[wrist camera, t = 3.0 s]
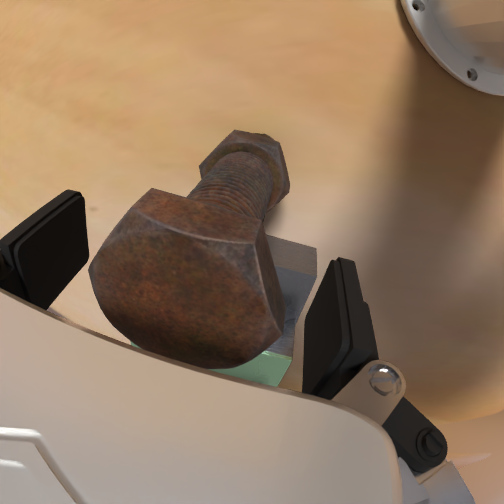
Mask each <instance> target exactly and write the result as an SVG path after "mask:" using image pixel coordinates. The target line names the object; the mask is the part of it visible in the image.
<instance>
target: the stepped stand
mask: <svg viewBox="0 0 504 504" xmlns="http://www.w3.org/2000/svg"><path fill="white" fill-rule="evenodd" d="M266 237H267V241H268V244H269V248H270V251H271V255H272V258H273V262H274V266H275V269H276V273H277V276H278V280H279V283H280V287H281V291H282V294H283V298H284V302H285V305H286V313H285V321H284V329H283V335H282V336H281V337H280V338H279V339H278V340H277V341H276V342H274V343H273V344H272V345H271V346H270V347H269V348H268V349H267V350H265V351H264V352H263V353H261V354H260V355H258V356H257V357H255V358H254V359H253V360H251V361H249V362H247V363H245V364H243V365H240V366H238V367H235V368H230V369H207V370H211V371H215V372H218V373H222V374H226V375H230V376H234V377H238V378H242V379H246V380H250V381H254V382H258V383H262V384H266V385H271V386H275V387H277V386H278V385H279V383H280V381H281V380H282V378H283V376H284V374H285V372H286V371H287V369H288V367H289V365H290V364H291V362H292V356H293V345H294V334H295V324H296V322H297V320H298V318H299V316H300V314H301V311H302V309H303V307H304V305H305V303H306V300H307V298H308V296H309V294H310V291H311V289H312V287H313V285H314V282H315V280H316V278H317V252H316V248H313V247H309V246H306V245H302V244H298V243H295V242H291V241H287V240H284V239H280V238H276V237H273V236H269V235H266ZM131 345H132V346H135V347H137V348H140V347H138V346H137V345H135V344H134V343H132V342H131ZM140 349H141V348H140Z"/></svg>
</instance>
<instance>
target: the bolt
mask: <svg viewBox="0 0 504 504" xmlns="http://www.w3.org/2000/svg"><path fill="white" fill-rule="evenodd" d="M199 169H200V174H201V179H202V180H201V181H200V182H199V183H198V185H197V186H196V187H195V188H194V189H193V190H192V191H191V192H190V194H189V195H188V196H187V197H182V196H179V195H175V194H172V193H168V192H165V191H161V190H157V189H154V188H151V189H150V190H149V191H148V192H147V193H146V194H145V195H144V196H142V197H141V198H140V199H139V200H138V201H137V202H136V203H135V204H134V205H133V206H132V207H131V208H130V209H129V210H128V212H127V213H126V214H125V215H124V217H123V218H122V219H121V220H120V221H119V223H118V224H117V225H116V226H115V228H114V229H113V230H112V232H111V233H110V235H109V236H108V237H107V239H106V240H105V241H104V243H103V245H102V246H101V248H100V249H99V251H98V252H97V254H96V256H95V257H94V259H93V260H92V262H91V264H90V266H89V269H88V272H89V276H90V280H91V283H92V287H93V291H94V294H95V296H96V299H97V301H98V303H99V306H100V308H101V310H102V311H103V313H104V315H105V316H106V318H107V319H108V320H109V322H110V323H111V324H112V325H113V326H114V327H115V328H116V329H117V330H118V331H119V332H121V333H122V334H123V335H124V336H125V337H126V338H128V339H129V340H130V341H131V342H132V343H134V344H135V345H137V346H138V347H140V348H141V349H143V350H146V351H149V352H152V353H155V354H158V355H161V356H164V357H167V358H170V359H174V360H177V361H180V362H183V363H187V364H190V365H193V366H197V367H200V368H204V369H230V368H235V367H238V366H240V365H243V364H245V363H247V362H249V361H251V360H253V359H254V358H255V357H257V356H258V355H260V354H261V353H263V352H264V351H265V350H267V349H268V348H269V347H270V346H271V345H272V344H273V343H274V342H276V341H277V340H278V339H279V338H280V337H281V336H282V335H283V329H284V321H285V313H286V305H285V302H284V298H283V294H282V291H281V287H280V283H279V280H278V276H277V273H276V269H275V266H274V262H273V258H272V255H271V251H270V248H269V244H268V241H267V237H266V234H265V230H264V227H263V220H264V217H265V214H266V213H267V212H268V211H269V210H271V209H272V208H273V207H274V206H275V205H276V204H277V203H279V202H280V201H281V200H282V199H283V198H284V197H285V196H286V195H287V194H288V193H289V189H290V181H289V176H288V171H287V167H286V163H285V159H284V155H283V152H282V149H281V146H280V143H279V142H277V141H275V140H273V139H272V138H271V137H270V136H268V135H266V134H258V133H249V132H244V131H239V130H234V131H233V132H232V133H230V134H229V135H228V136H227V137H226V138H225V139H224V140H223V141H222V142H221V143H220V144H219V145H218V146H217V147H216V148H215V149H214V150H213V151H212V152H211V154H210V155H209V156H208V157H207V158H206V159H205V160H204V161H203V162H202V163H201V164H200V165H199Z"/></svg>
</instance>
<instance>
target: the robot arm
mask: <svg viewBox="0 0 504 504" xmlns="http://www.w3.org/2000/svg"><path fill="white" fill-rule="evenodd" d="M401 4H402V7H403V9H404V12H405V14H406V17H407V20H408V22H409V23H410V25H411V27H412V29H413V31H414V33H415V34H416V36H417V38H418V39H419V40H420V42H421V43H422V45H423V46H424V47H425V49H426V50H427V52H428V53H429V54H430V55H431V56H432V57H433V58H434V59H435V60H436V62H437V63H438V64H439V65H440V66H441V67H442V68H444V69H445V70H446V71H447V72H448V73H449V74H451V75H452V76H453V77H454V78H456V79H457V80H459V81H461V82H462V83H464V84H465V85H467V86H469V87H471V88H474V89H476V90H478V91H480V92H485V93H488V94H492V95H500V96H504V0H401ZM412 5H415V6H416V7H417V11H416V10H415V9H414V8H413V7H412ZM467 71H468V73H469V76H467ZM88 259H89V248H88V238H87V227H86V214H85V200H84V197H82V194H81V193H80V192H77V191H73V190H66V191H64V192H63V193H61V194H60V195H58V196H57V197H55V198H54V199H53V200H51V201H50V202H48V203H47V204H46V205H44V206H43V207H41V208H40V209H39V210H37V211H36V212H35V213H33V214H32V215H31V216H29V217H28V218H27V219H25V220H24V221H23V222H22V223H20V224H19V225H18V226H17V227H15V228H14V229H13V230H12V231H10V232H9V233H8V234H7V235H5V236H4V237H3V238H2V239H1V240H0V504H475V501H474V498H473V496H472V495H471V493H470V491H469V490H468V488H467V486H466V484H465V483H464V481H463V479H462V477H461V476H460V474H459V472H458V470H457V469H456V467H455V465H454V464H453V462H452V460H451V461H449V462H447V460H446V455H447V442H446V439H445V437H444V435H443V434H442V433H441V432H440V431H439V430H438V429H437V428H436V427H435V426H434V425H433V424H432V423H431V422H430V421H429V420H428V419H427V418H426V417H425V416H424V415H422V414H421V413H420V412H419V411H418V410H417V409H416V408H415V407H414V406H413V405H412V404H411V403H410V402H409V401H408V400H407V399H406V398H404V397H403V395H404V393H405V391H406V382H405V378H404V376H403V374H402V373H401V371H400V370H399V369H398V368H397V367H396V366H394V365H393V364H391V363H390V362H387V361H384V360H379V358H378V352H377V346H376V341H375V336H374V330H373V325H372V320H371V316H370V311H369V306H368V304H367V303H366V302H363V297H362V293H361V288H360V283H359V279H358V275H357V270H356V266H355V262H354V261H351V260H348V259H344V258H340V257H338V258H337V260H336V261H335V260H331V262H330V264H329V266H328V268H327V271H326V273H325V275H324V277H323V280H322V282H321V284H320V286H319V289H318V291H317V293H316V295H315V298H314V300H313V302H312V304H311V306H310V308H309V311H308V313H307V315H306V318H305V324H304V361H303V385H302V393H301V392H297V391H293V390H289V389H284V388H280V387H275V386H271V385H266V384H262V383H258V382H254V381H250V380H246V379H242V378H238V377H234V376H230V375H226V374H222V373H218V372H215V371H211V370H207V369H204V368H200V367H197V366H193V365H190V364H187V363H183V362H180V361H177V360H174V359H170V358H167V357H164V356H161V355H158V354H155V353H152V352H149V351H146V350H143V349H140V348H137V347H135V346H132V345H129V344H126V343H124V342H121V341H118V340H115V339H113V338H110V337H108V336H105V335H102V334H100V333H97V332H95V331H92V330H90V329H87V328H85V327H83V326H80V325H78V324H76V323H73V322H71V321H69V320H66V319H64V318H62V317H59V316H57V315H55V314H53V313H50V312H48V311H46V310H47V309H48V308H49V306H50V305H51V304H52V303H53V301H54V300H55V299H56V298H57V297H58V295H59V294H60V293H61V292H62V291H63V289H64V288H65V287H66V286H67V285H68V283H69V282H70V281H71V280H72V279H73V278H74V276H75V275H76V274H77V273H78V272H79V271H80V270H81V268H82V267H83V266H84V265H85V264H86V263H87V261H88Z"/></svg>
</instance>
